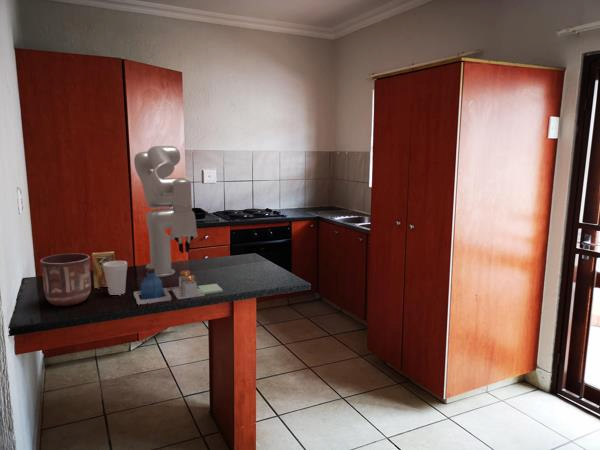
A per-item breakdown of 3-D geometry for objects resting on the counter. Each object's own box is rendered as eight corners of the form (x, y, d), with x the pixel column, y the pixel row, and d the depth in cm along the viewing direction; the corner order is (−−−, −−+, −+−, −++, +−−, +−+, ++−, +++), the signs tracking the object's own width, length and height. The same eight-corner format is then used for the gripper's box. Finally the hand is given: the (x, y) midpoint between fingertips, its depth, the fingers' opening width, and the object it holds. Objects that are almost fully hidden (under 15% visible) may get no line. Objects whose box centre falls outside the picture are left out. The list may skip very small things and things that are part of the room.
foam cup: (114, 298, 188) (112, 267, 186) (100, 294, 192) (98, 264, 190) (133, 292, 196) (131, 262, 193) (119, 288, 200) (117, 259, 198)
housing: (137, 304, 180) (136, 290, 179) (133, 294, 192) (132, 281, 192) (204, 295, 191) (204, 282, 190) (196, 286, 204) (196, 273, 203)
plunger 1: (182, 289, 195) (181, 273, 194) (180, 286, 199) (179, 271, 198) (191, 288, 197) (190, 272, 196) (189, 285, 201) (188, 270, 199)
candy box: (116, 284, 207) (114, 251, 204) (116, 287, 203) (113, 253, 200) (94, 286, 204) (92, 252, 201) (94, 289, 200) (91, 254, 197)
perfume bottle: (155, 300, 185) (153, 271, 183) (141, 299, 186) (139, 271, 184) (162, 296, 191) (161, 268, 189) (149, 295, 192) (147, 267, 190)
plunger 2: (186, 294, 188) (185, 278, 187) (184, 291, 192) (183, 275, 191) (195, 293, 190) (195, 276, 189) (193, 290, 193) (193, 274, 192)
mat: (199, 294, 192) (199, 292, 192) (194, 288, 201) (194, 286, 201) (222, 291, 197) (222, 289, 197) (216, 285, 206) (216, 283, 205)
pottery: (40, 312, 172) (37, 265, 169) (45, 298, 188) (42, 255, 185) (92, 306, 179) (90, 261, 176) (93, 293, 195) (90, 251, 192)
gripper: (164, 211, 186) (167, 255, 189) (203, 209, 192) (204, 252, 195) (161, 209, 192) (163, 252, 195) (199, 207, 199) (200, 248, 202)
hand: (184, 251), depth 195 cm, fingers closed
